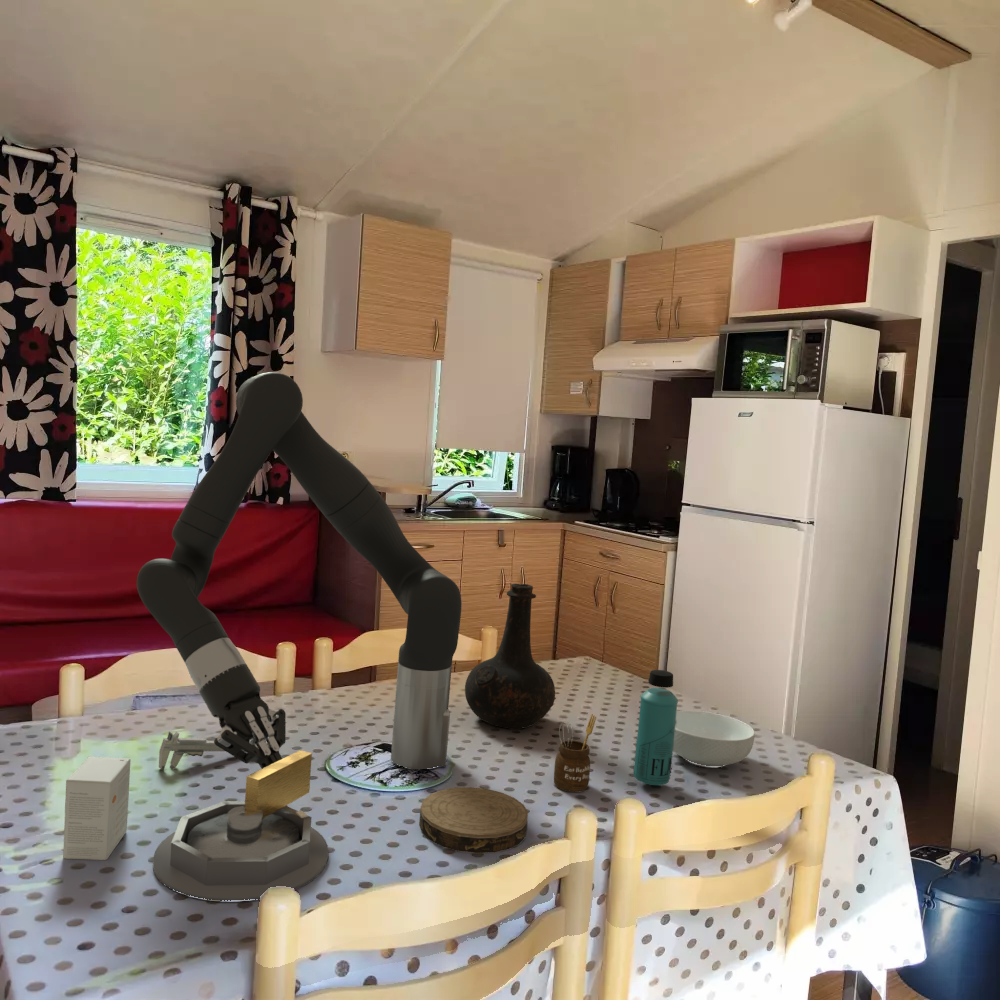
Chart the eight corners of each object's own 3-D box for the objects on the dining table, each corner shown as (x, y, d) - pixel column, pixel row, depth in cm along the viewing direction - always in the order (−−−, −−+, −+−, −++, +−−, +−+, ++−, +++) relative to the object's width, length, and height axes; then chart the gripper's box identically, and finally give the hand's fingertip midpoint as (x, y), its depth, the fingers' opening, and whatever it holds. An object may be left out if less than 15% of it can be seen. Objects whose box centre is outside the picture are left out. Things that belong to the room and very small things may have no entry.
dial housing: (328, 819, 130) (330, 792, 130) (326, 900, 108) (329, 869, 108) (170, 819, 126) (171, 791, 125) (135, 904, 104) (137, 871, 104)
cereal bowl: (767, 764, 167) (771, 728, 167) (722, 786, 155) (727, 747, 154) (688, 737, 179) (691, 703, 178) (641, 755, 166) (645, 718, 166)
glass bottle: (445, 714, 180) (456, 578, 178) (511, 702, 192) (523, 573, 189) (502, 743, 167) (515, 596, 164) (570, 728, 178) (583, 590, 176)
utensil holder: (546, 780, 151) (553, 711, 150) (579, 777, 154) (585, 709, 153) (562, 794, 146) (569, 723, 145) (596, 791, 148) (603, 721, 147)
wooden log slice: (440, 861, 121) (442, 840, 121) (405, 811, 136) (406, 792, 135) (545, 848, 127) (546, 828, 127) (500, 801, 142) (502, 783, 142)
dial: (249, 888, 108) (254, 814, 107) (162, 856, 114) (166, 785, 113) (342, 826, 126) (347, 763, 125) (263, 802, 131) (267, 740, 130)
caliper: (160, 773, 141) (162, 734, 141) (158, 770, 142) (160, 732, 142) (277, 749, 155) (280, 714, 155) (274, 747, 156) (277, 712, 155)
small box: (85, 830, 121) (88, 755, 120) (127, 832, 121) (131, 757, 120) (61, 859, 113) (64, 779, 112) (106, 861, 113) (110, 781, 112)
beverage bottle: (646, 796, 148) (658, 678, 146) (623, 780, 154) (634, 667, 152) (677, 791, 151) (690, 676, 149) (653, 776, 157) (665, 665, 155)
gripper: (203, 673, 122) (265, 783, 118) (268, 653, 134) (327, 753, 130) (172, 701, 125) (232, 809, 121) (239, 680, 137) (296, 778, 133)
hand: (281, 780), depth 126 cm, fingers closed
